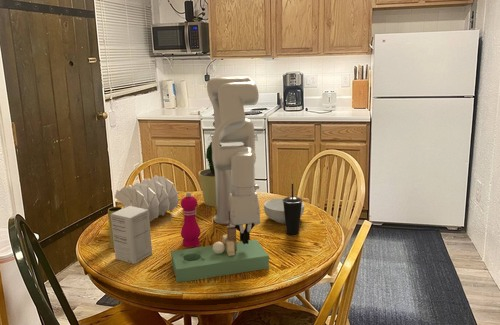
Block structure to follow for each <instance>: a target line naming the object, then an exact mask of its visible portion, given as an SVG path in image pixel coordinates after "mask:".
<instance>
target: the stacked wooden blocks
mask: <svg viewBox="0 0 500 325" xmlns="http://www.w3.org/2000/svg"><path fill="white" fill-rule="evenodd" d="M237 242H238V240H237V229H236V228H229V226H228V225H227V226H226V234H222V243H223V244H224V246H225V250H226V252H227V254H228V256H231V255H235V252H236V251H237Z"/></svg>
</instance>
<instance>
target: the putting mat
mask: <svg viewBox="0 0 500 325" xmlns="http://www.w3.org/2000/svg"><path fill="white" fill-rule="evenodd" d="M248 242H249V243H248V244H243V243H242V241H237V251H236V252H235V255H231V256H228V254H227V252H226V250H224V252H223V253H221V254H217V253H215V252H214V251H213V245H214V244H213V245H207V246H199V247H198V246H197V247H189V248H185V249H178V250H171V251H170V259H171V266H172V270H173V273H174V276H175V279H176V280H175V281H176V284H177V283H184V282H189V281H196V280H203V279H209V278H215V277H222V276H228V275H234V274H235V275H236V274H241V273H246V272H247V273H248V272H253V271H259V270H268V269H269V268H270V255H269V254H268V253H267V251H266V250H265V249H264V247H263V246H262V245H261V243H260V242H259V241H258V240H257V239H250V240H248Z"/></svg>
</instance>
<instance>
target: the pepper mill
mask: <svg viewBox="0 0 500 325" xmlns="http://www.w3.org/2000/svg"><path fill="white" fill-rule="evenodd" d="M180 206H181V208H182V214H183V217H184V218H183V225H182V227H181V230H180V235H181V238H182V245H183V246H184V247H185V248H197V247H198V246H200V244H201V242H200V237H201V233H202V232H201V227H200V226H199V224H198V222H197V219H196V214H197V207H198V200H197V198H196V197H195V196H192V193H191V192H186V194H185V196H184V197H183V198H181V199H180Z"/></svg>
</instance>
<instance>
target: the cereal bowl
mask: <svg viewBox="0 0 500 325" xmlns="http://www.w3.org/2000/svg"><path fill="white" fill-rule="evenodd" d="M284 198H285V197H284ZM284 198H283V197H282V198H273V199H269V200H266V201H265V202H264V204H263V211H264V213H265V215H266V216H267V217H268V218H269V219H270V220H272V221H275V223H279V224H285V214H284V204H283V199H284ZM304 212H305V204H304V201H303V202H302V206H301V216H300V218H301V217H302V216H303V214H304Z"/></svg>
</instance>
